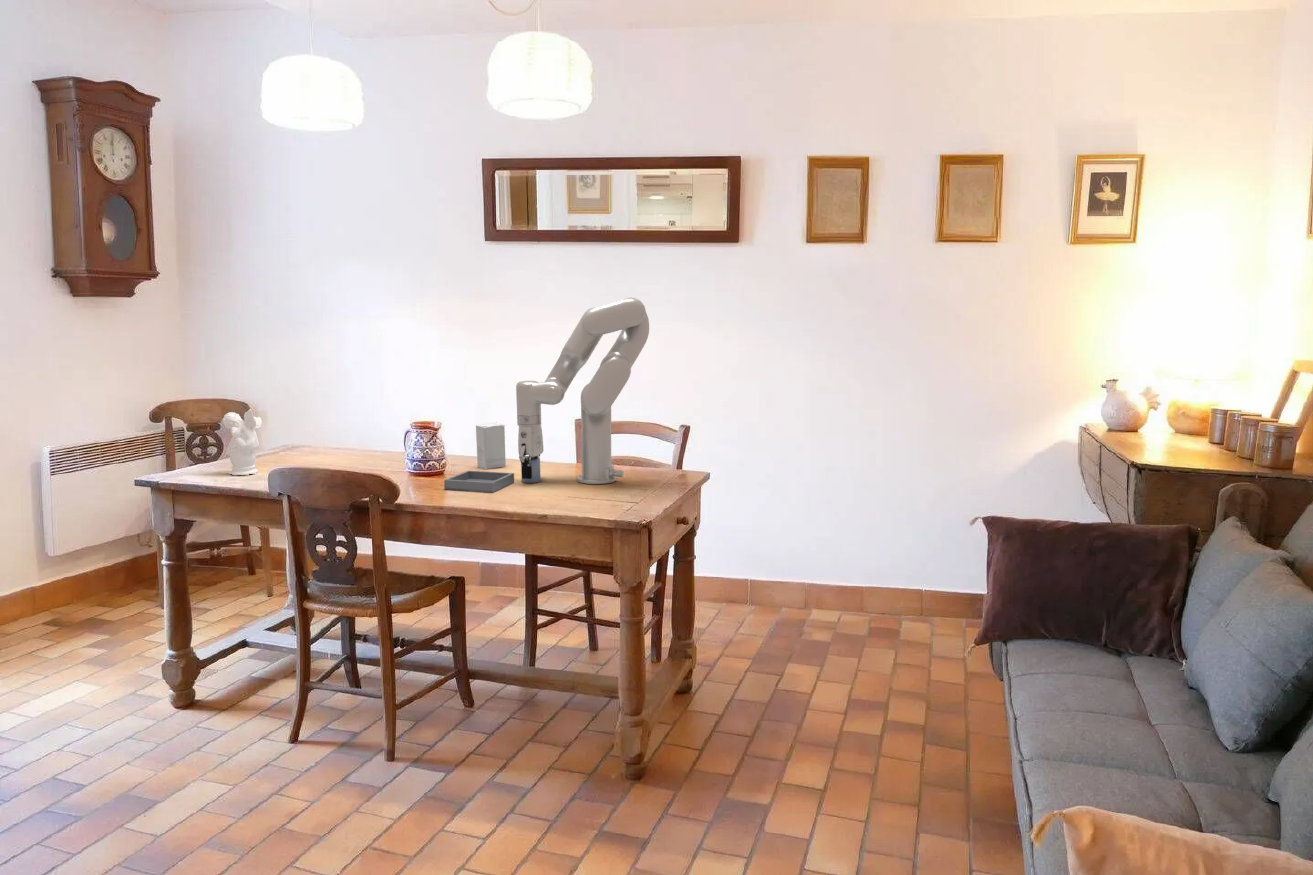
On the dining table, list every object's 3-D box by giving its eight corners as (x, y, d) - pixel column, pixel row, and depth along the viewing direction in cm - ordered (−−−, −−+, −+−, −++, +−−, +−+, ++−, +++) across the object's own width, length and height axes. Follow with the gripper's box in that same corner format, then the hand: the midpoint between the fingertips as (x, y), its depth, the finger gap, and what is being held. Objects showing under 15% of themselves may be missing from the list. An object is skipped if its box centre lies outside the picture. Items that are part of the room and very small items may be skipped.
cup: (543, 479, 311) (542, 457, 310) (536, 483, 305) (535, 461, 304) (526, 478, 312) (525, 457, 311) (518, 482, 307) (517, 460, 305)
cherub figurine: (221, 474, 318) (216, 408, 315) (253, 468, 329) (249, 404, 325) (246, 477, 312) (241, 409, 309) (278, 471, 323) (273, 405, 319)
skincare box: (497, 464, 337) (496, 422, 335) (506, 467, 333) (505, 424, 330) (476, 467, 332) (475, 424, 330) (484, 469, 327) (483, 426, 325)
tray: (514, 482, 307) (514, 473, 306) (492, 492, 292) (492, 483, 291) (467, 479, 311) (467, 470, 310) (444, 489, 296) (444, 480, 295)
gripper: (529, 424, 296) (531, 482, 299) (550, 416, 313) (552, 471, 316) (507, 423, 298) (509, 481, 301) (528, 416, 315) (530, 470, 318)
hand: (531, 475), depth 308 cm, fingers closed on cup, 6 cm apart
